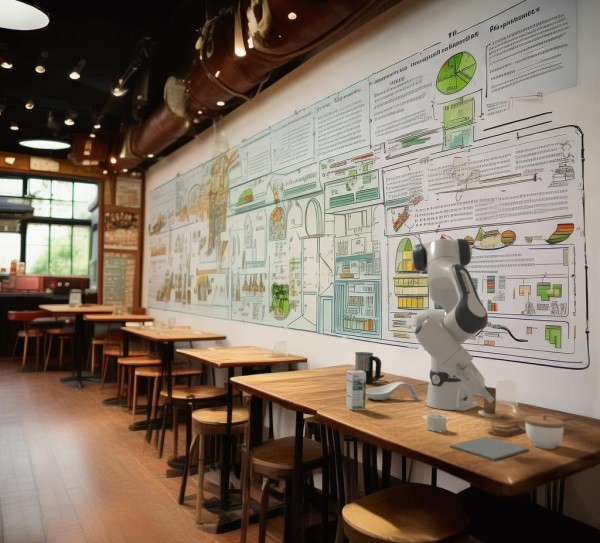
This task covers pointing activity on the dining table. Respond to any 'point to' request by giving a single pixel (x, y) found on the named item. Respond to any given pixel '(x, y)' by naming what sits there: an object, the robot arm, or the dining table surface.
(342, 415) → the dining table surface
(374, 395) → the spoon rest
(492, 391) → the brown peg on disc
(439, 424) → the white octagonal base
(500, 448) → the mat
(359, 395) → the syrup box
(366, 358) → the milk frother
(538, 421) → the lidded jar
